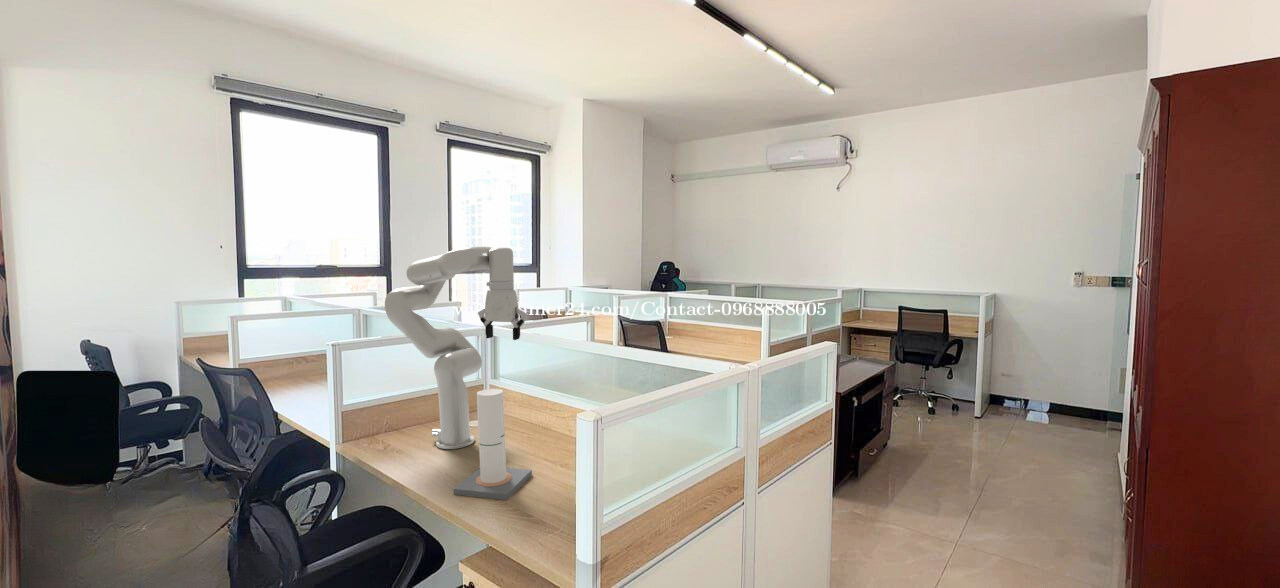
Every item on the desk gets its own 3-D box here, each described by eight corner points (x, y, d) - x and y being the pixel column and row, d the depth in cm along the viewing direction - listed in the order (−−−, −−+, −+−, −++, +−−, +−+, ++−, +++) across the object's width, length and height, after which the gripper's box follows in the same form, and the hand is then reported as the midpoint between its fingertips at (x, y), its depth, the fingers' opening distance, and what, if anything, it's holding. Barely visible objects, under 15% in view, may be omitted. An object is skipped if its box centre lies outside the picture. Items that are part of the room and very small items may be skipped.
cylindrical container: (511, 474, 160) (507, 389, 157) (497, 484, 153) (493, 396, 151) (490, 471, 162) (486, 388, 160) (475, 481, 155) (471, 394, 153)
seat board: (453, 494, 151) (453, 488, 151) (482, 470, 167) (482, 464, 167) (506, 499, 148) (506, 493, 148) (531, 475, 163) (531, 469, 163)
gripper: (471, 286, 176) (473, 339, 178) (520, 287, 171) (521, 342, 173) (484, 284, 183) (485, 335, 185) (531, 285, 178) (532, 338, 180)
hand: (502, 338), depth 179 cm, fingers open, 9 cm apart
